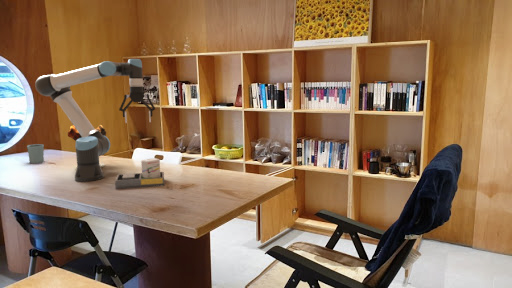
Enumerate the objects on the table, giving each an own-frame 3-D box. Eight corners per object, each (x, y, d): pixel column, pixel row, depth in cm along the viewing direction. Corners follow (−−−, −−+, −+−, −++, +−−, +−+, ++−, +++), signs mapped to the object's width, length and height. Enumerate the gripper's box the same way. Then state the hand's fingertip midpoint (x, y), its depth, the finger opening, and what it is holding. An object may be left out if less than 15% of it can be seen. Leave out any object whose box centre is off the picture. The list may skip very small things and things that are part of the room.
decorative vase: (114, 166, 254) (108, 123, 249) (75, 173, 241) (69, 128, 236) (106, 161, 271) (100, 121, 266) (69, 167, 258) (63, 125, 253)
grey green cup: (40, 160, 278) (39, 143, 277) (48, 162, 273) (46, 145, 271) (25, 162, 270) (24, 145, 268) (32, 164, 264) (31, 147, 263)
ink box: (147, 183, 208) (146, 161, 206) (142, 181, 211) (141, 160, 209) (161, 180, 214) (160, 158, 212) (155, 178, 217) (154, 157, 215)
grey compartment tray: (115, 189, 201) (115, 179, 200) (118, 182, 215) (117, 173, 214) (164, 185, 207) (164, 176, 206) (163, 179, 221) (163, 170, 220)
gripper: (158, 85, 235) (159, 121, 239) (114, 86, 229) (116, 122, 233) (158, 86, 228) (160, 122, 231) (113, 86, 222) (115, 123, 225)
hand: (138, 122), depth 232 cm, fingers open, 13 cm apart
